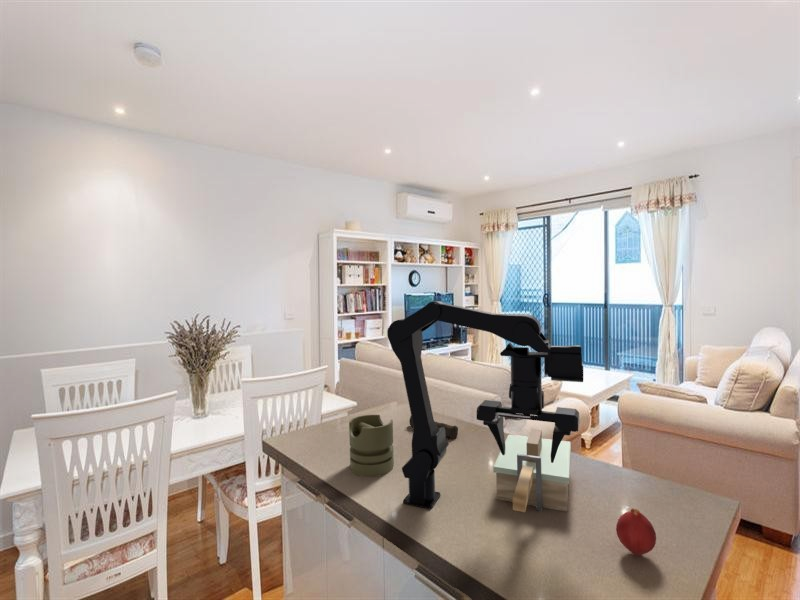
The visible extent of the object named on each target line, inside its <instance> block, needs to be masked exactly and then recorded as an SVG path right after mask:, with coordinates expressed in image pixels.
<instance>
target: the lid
mask: <svg viewBox="0 0 800 600" xmlns="http://www.w3.org/2000/svg"><path fill="white" fill-rule="evenodd" d="M542 432H543V431H542V429H540V428H539V429H537V428H531V429H530V432H529V434H528V436H527V435H519V434H518V435H516V434H508V435H507V437H506V439H505V455H502V453H501V451H500V452H499V453H498V456H497V458H496V461H495V462H494V463H493V464H494V465H493V473H503V474H509V475H516V476H517V454H524V455H531V456H539V457H541V471H542V480H548V481H554V482H561V483H567V484H568V485H570V471H571V470H570V469H571V463H570V462H571V446H572V444H571V443H572V442H571V441H569V440H562V441H561V443H560V445H559V447H558V450H557V453H556V456H555V459H554V462H553V463H551V447H552V439H550V438H543V436H542ZM523 466H530V467H533V478H535V479H536V462H529V461H523Z"/></svg>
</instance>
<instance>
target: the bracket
mask: <svg viewBox="0 0 800 600" xmlns="http://www.w3.org/2000/svg"><path fill="white" fill-rule="evenodd" d="M523 461H529V462H536V500H537V506H536V511H537V512H543V507H542V471H541V457H539V456H531V455H524V454H517V483H518V480H519V476H520V473H521V470H522V467H523Z"/></svg>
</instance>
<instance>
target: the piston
mask: <svg viewBox="0 0 800 600" xmlns="http://www.w3.org/2000/svg"><path fill="white" fill-rule="evenodd" d="M348 430H349V431H348V433H349V434H348V435H349V437H348V438H349V446H350V448H349V462H350V463H349V470H350V472H351V473H353V474H355V475H356V476H360V477H365V478H366V477H369V478H371V477H379V475H380V476H383V474H384V475H387V474H389V473H390V472H392V471H393V470H394V468H395V462H394V457H395V456H394V445H393V444H394V420H393V418H392V419H390V421H389V422H388V423H386V424H385V423H384V422H383V421H382V418H381V415H380V414H364V415H359V416H355V417H353V418H350V420H349V422H348ZM393 467H394V468H393ZM388 472H389V473H388ZM386 473H387V474H386Z"/></svg>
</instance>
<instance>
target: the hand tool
mask: <svg viewBox="0 0 800 600" xmlns="http://www.w3.org/2000/svg"><path fill="white" fill-rule="evenodd" d="M408 421H409V425H411V426H410V427H412V426H413V421H412V416H411V415H410V417H409V420H408ZM434 422H435V423H436V425H437V426H438V428H442V427H445V435H446V437H447V438H449V439H450V441H451V440H455V439H456V438H457V437H458V435H459V433H458V431H459V427H458V426H456V425H450V424H447V423H443V422H437V421H435V420H434Z"/></svg>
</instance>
